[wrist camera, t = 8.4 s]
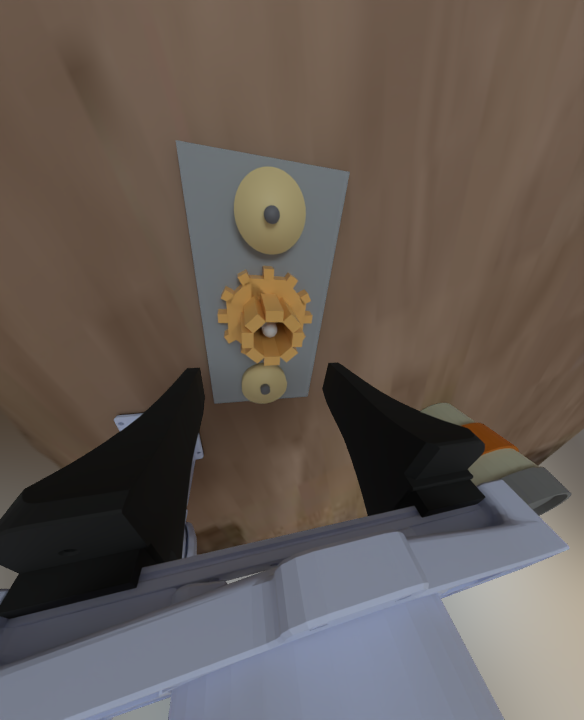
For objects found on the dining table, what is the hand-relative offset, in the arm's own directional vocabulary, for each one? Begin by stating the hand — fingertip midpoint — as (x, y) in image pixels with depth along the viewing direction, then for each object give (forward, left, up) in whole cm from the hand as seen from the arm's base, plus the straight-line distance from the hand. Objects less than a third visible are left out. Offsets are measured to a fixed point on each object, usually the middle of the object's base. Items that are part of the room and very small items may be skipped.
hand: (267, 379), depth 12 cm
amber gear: (0, -1, -9) cm, 9 cm away
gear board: (0, -1, -10) cm, 10 cm away
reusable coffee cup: (-20, -31, -10) cm, 38 cm away
